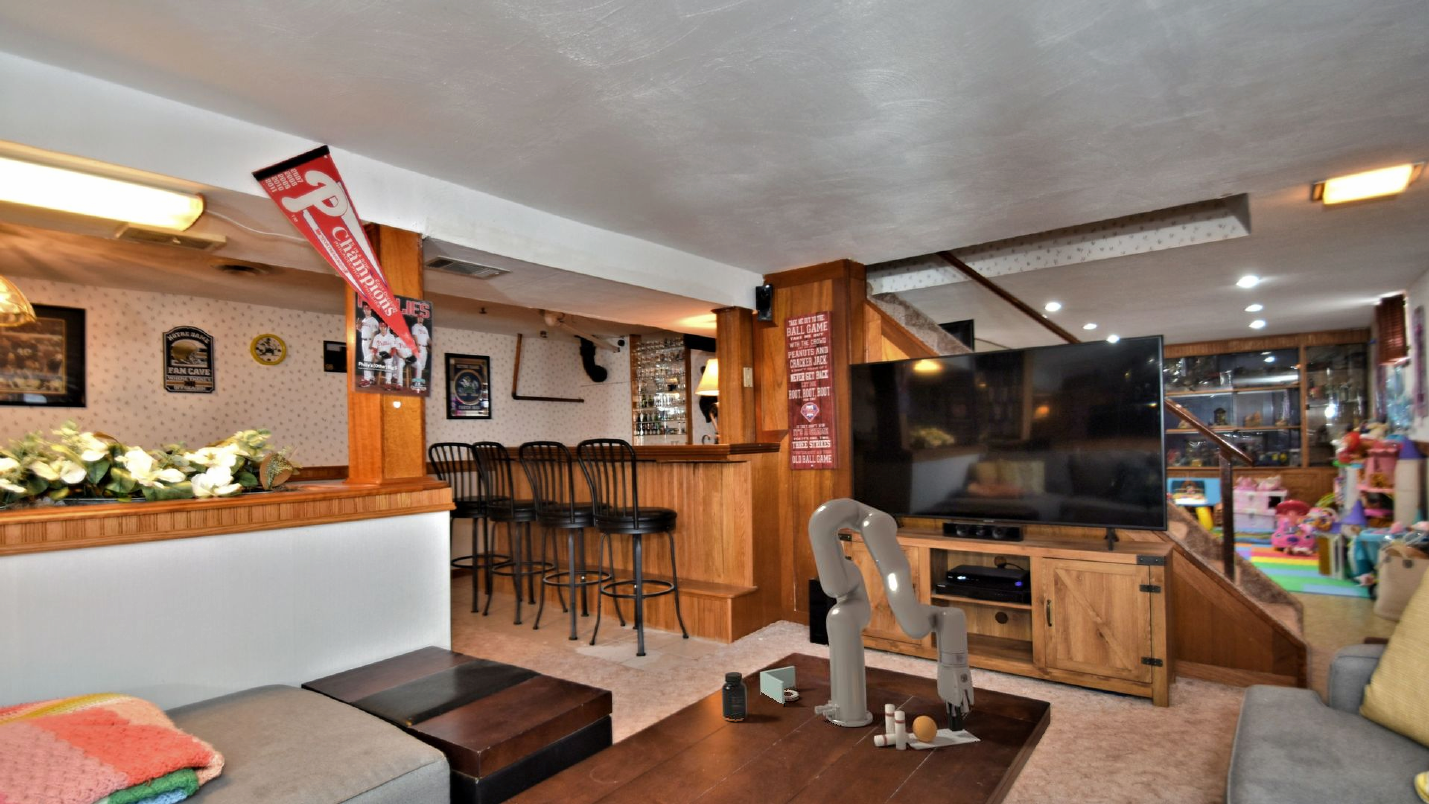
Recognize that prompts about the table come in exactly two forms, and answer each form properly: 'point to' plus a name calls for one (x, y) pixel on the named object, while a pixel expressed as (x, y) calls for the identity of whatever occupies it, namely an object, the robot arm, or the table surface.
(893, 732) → the back pin left
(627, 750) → the table surface
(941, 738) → the lane mark
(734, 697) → the supplement bottle
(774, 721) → the table surface
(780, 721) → the table surface
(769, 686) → the right angle wall
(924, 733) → the ball
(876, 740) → the front pin
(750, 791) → the table surface
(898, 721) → the back pin right
